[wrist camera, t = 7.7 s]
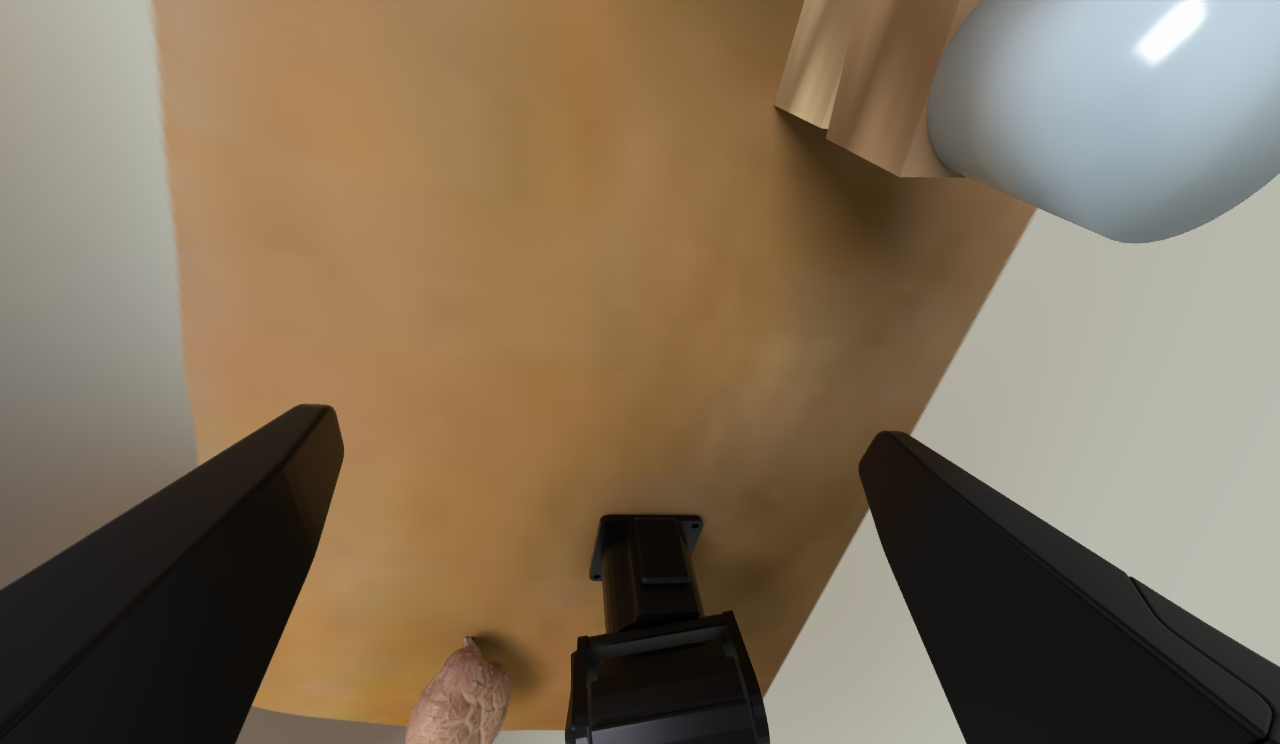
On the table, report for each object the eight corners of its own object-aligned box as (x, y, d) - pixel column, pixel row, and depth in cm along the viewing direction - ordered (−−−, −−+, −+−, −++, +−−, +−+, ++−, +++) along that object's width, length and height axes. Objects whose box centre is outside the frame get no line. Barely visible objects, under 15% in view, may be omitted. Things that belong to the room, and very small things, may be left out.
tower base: (872, 123, 18) (938, 149, 15) (773, 104, 17) (820, 127, 14) (927, -11, 16) (1017, -14, 13) (816, -40, 15) (884, -50, 12)
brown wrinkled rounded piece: (422, 616, 34) (391, 756, 28) (513, 612, 35) (503, 745, 29) (433, 666, 39) (409, 796, 32) (514, 660, 40) (505, 785, 33)
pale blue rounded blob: (1036, 188, 12) (1208, 256, 9) (894, 162, 11) (1026, 227, 8) (1167, -18, 10) (1465, -28, 6) (1000, -71, 9) (1246, -111, 6)
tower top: (949, 140, 15) (1053, 177, 12) (825, 138, 14) (899, 177, 11) (1014, -29, 13) (1166, -39, 9) (868, -38, 12) (977, -52, 9)
